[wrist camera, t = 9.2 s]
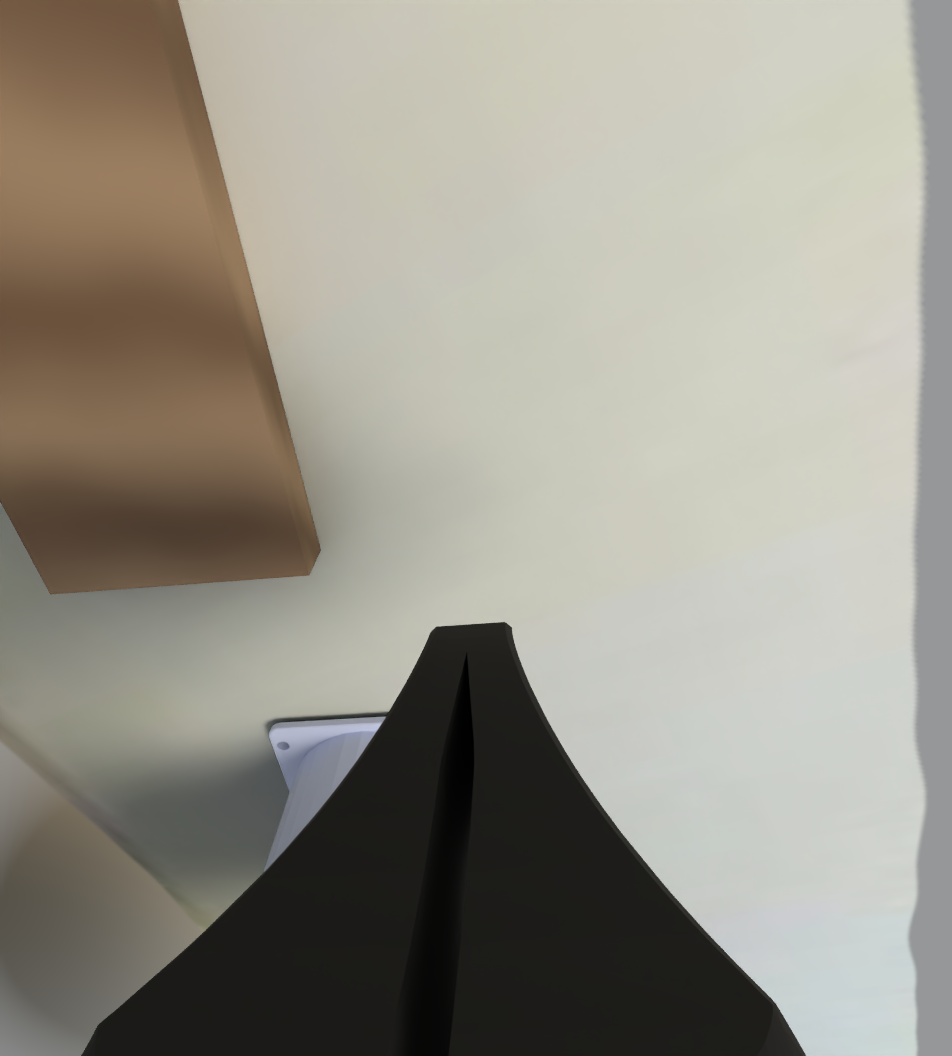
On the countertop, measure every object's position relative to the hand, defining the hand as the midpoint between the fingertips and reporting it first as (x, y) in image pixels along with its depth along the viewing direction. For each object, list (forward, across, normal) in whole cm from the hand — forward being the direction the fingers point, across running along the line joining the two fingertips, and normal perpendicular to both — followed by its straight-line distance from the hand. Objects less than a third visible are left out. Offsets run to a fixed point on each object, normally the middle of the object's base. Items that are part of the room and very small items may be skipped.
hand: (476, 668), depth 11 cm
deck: (+10, +10, -5) cm, 15 cm away
